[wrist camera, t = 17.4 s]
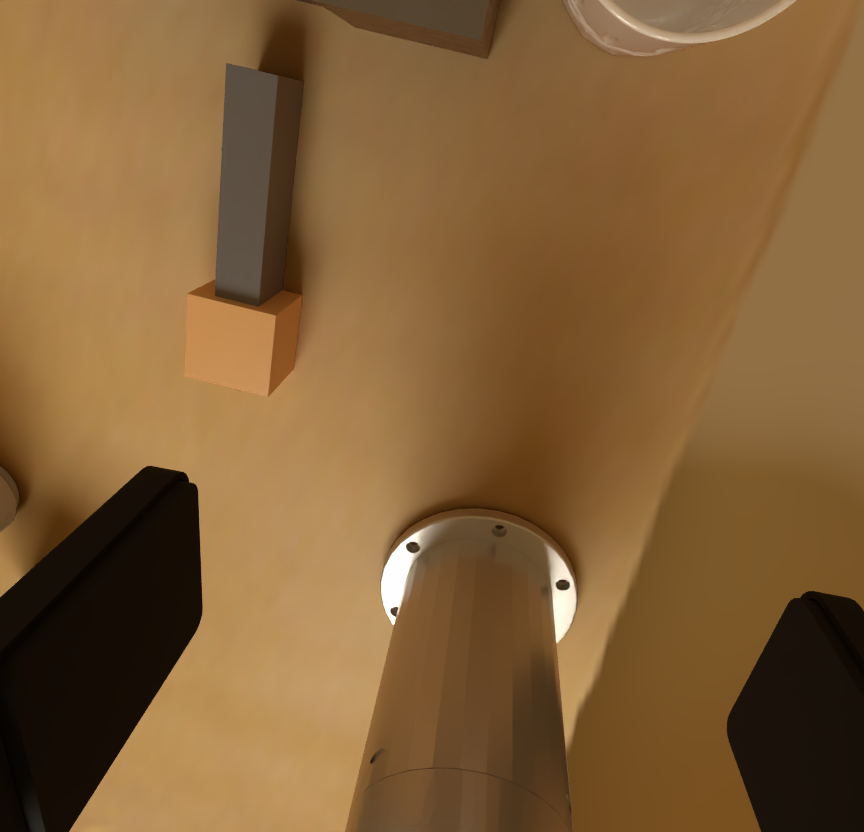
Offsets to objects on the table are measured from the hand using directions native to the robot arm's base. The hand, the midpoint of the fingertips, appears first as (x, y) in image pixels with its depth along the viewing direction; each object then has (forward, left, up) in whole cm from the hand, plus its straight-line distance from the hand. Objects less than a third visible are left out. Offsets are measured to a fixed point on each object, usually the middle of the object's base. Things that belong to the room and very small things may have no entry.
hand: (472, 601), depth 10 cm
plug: (-1, +12, -23) cm, 26 cm away
